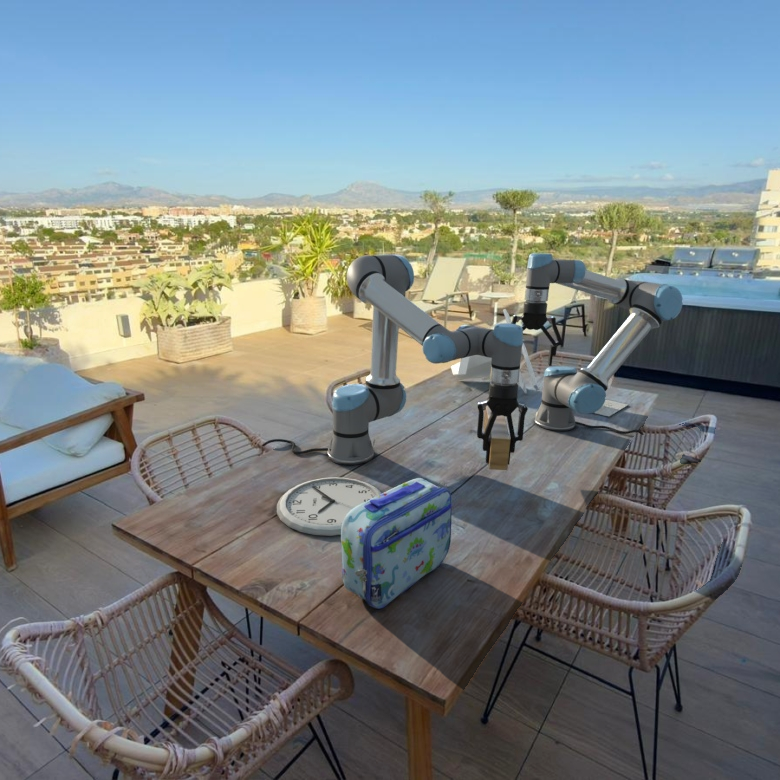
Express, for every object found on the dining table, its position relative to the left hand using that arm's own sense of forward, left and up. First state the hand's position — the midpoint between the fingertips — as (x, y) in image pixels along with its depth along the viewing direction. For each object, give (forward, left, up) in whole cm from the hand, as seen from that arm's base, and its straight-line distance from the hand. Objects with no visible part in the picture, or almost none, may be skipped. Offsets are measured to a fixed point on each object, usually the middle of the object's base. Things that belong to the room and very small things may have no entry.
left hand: (497, 461), depth 146 cm
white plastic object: (-39, +101, -11) cm, 108 cm away
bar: (-5, +11, -1) cm, 12 cm away
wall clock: (-36, -29, -11) cm, 47 cm away
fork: (-12, -12, -11) cm, 21 cm away
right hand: (-5, +43, +18) cm, 47 cm away
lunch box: (-5, -47, -11) cm, 49 cm away
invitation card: (+12, +100, -11) cm, 101 cm away
